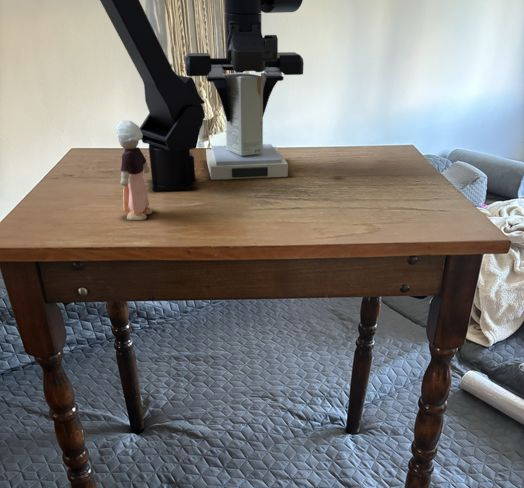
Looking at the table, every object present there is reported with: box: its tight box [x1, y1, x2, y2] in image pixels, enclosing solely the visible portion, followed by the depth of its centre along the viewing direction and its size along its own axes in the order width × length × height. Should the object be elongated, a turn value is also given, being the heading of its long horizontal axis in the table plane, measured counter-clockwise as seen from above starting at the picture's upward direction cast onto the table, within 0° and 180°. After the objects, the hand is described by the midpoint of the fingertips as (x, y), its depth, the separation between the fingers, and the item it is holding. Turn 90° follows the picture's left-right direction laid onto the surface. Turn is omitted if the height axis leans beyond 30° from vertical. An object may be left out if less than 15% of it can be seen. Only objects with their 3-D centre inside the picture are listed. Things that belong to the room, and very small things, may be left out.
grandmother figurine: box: [115, 119, 153, 221], centre depth 75 cm, size 8×4×13 cm, turn 178°
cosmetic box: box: [223, 72, 264, 156], centre depth 95 cm, size 6×4×12 cm
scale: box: [205, 143, 289, 181], centre depth 98 cm, size 13×12×3 cm
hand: (244, 120), depth 95 cm, fingers closed on cosmetic box, 5 cm apart
